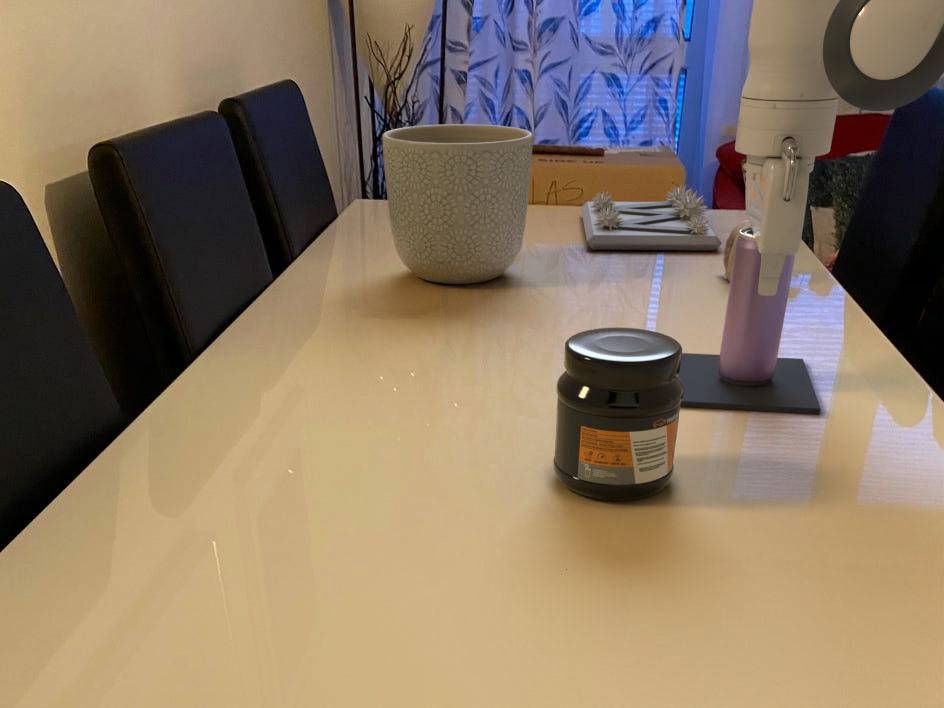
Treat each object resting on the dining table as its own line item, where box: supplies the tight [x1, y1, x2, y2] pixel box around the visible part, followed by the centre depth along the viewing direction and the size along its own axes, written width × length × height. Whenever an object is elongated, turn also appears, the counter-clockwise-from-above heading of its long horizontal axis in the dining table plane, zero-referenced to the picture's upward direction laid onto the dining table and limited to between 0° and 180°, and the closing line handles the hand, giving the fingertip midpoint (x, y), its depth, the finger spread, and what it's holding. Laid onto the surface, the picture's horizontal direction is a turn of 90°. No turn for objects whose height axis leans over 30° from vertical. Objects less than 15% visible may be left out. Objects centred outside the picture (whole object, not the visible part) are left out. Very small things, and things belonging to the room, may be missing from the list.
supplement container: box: [552, 327, 684, 501], centre depth 84 cm, size 10×10×12 cm
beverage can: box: [718, 227, 796, 387], centre depth 103 cm, size 6×6×15 cm
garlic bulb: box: [722, 219, 751, 282], centre depth 142 cm, size 9×8×10 cm
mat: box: [677, 352, 821, 415], centre depth 107 cm, size 14×16×1 cm
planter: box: [382, 123, 534, 285], centre depth 142 cm, size 21×21×19 cm
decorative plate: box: [580, 182, 723, 251], centre depth 169 cm, size 30×22×7 cm
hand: (762, 282), depth 101 cm, fingers open, 8 cm apart
